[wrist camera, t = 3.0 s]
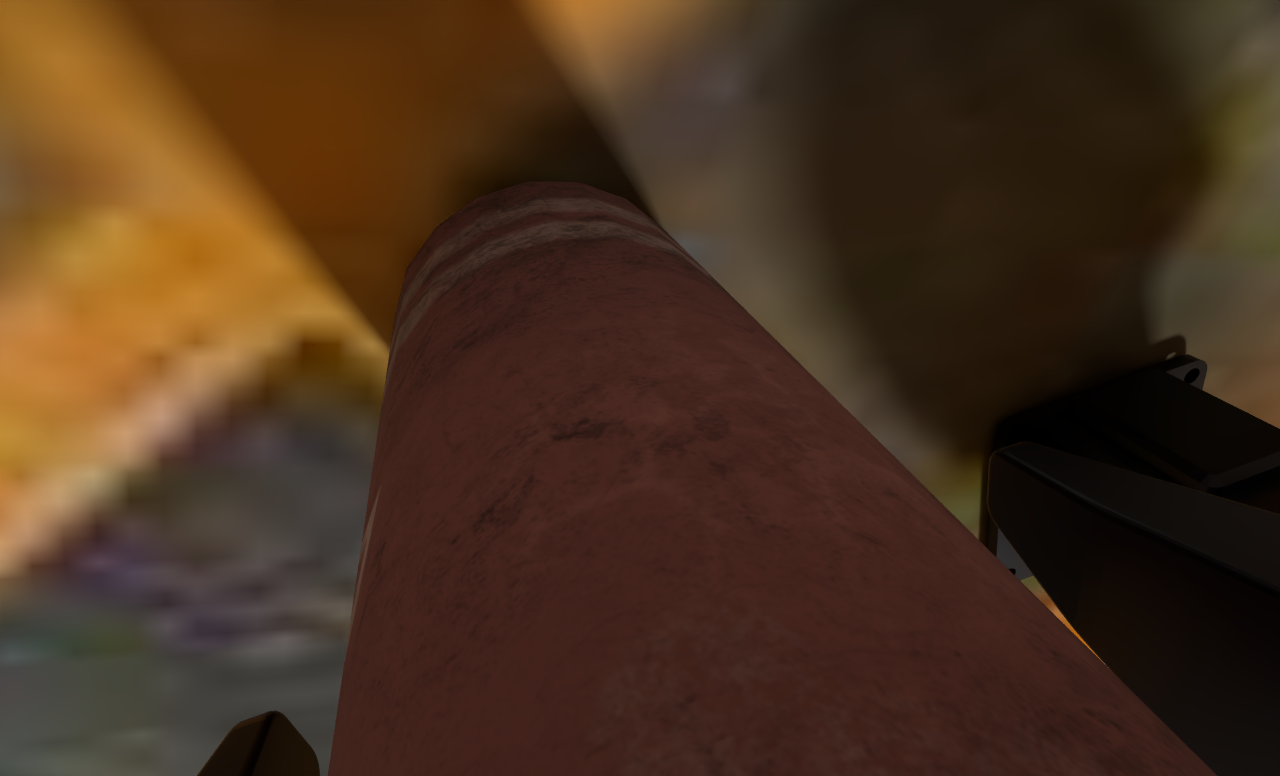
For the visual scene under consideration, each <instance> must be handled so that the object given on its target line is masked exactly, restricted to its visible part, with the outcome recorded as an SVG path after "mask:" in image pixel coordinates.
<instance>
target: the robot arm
mask: <svg viewBox="0 0 1280 776" xmlns="http://www.w3.org/2000/svg"><path fill="white" fill-rule="evenodd" d="M1206 372H1207V364H1206V363H1205V362H1204V361H1202V360H1200V359H1198V358H1196V357H1193V356H1191V355H1188V354H1187V355H1182V356H1179V357H1176V358H1173V359H1170V360H1167V361H1165V362H1162V363H1159V364H1156V365H1153V366H1151V367H1148V368H1145V369H1142V370H1139V371H1137V372H1134V373H1131V374H1128V375H1125V376H1123V377H1120V378H1117V379H1114V380H1111V381H1108V382H1106V383H1103V384H1100V385H1097V386H1094V387H1092V388H1089V389H1086V390H1083V391H1080V392H1078V393H1075V394H1072V395H1069V396H1066V397H1063V398H1061V399H1058V400H1055V401H1052V402H1049V403H1047V404H1044V405H1041V406H1038V407H1035V408H1033V409H1030V410H1027V411H1024V412H1021V413H1019V414H1016V415H1013V416H1011V417H1009V418H1007V419H1005V420H1004V421H1003V422H1002V423H1001V424H1000V425H999V426H998V428H997V429H996V432H995V436H994V452H993V453H992V455H991V457H990V458H989V468H988V487H987V506H988V510H989V513H990V519H989V536H988V550H989V551H990V552H991V553H992V554H993V555H994V556H995V557H996V558H997V559H998V560H999V561H1000V562H1001V563H1002V564H1003V565H1004V566H1005V567H1007V568H1008V569H1009V570H1010V571H1011V572H1012V573H1013V574H1014V575H1015V576H1016V577H1017V578H1018V579H1019V580H1022V579H1025V578H1028V577H1030V576H1034V577H1035V578H1036V580H1037V581H1038V582H1039V584H1040V585H1041V586H1042V588H1043V589H1044V590H1045V592H1046V593H1047V594H1048V596H1049V597H1050V598H1051V600H1052V601H1053V603H1054V604H1055V605H1056V607H1057V608H1058V609H1059V611H1060V612H1061V613H1062V614H1063V616H1064V617H1065V618H1066V620H1067V621H1068V622H1069V623H1070V625H1071V626H1072V627H1073V628H1074V630H1075V631H1076V632H1077V633H1078V634H1079V635H1080V637H1081V638H1082V639H1083V640H1084V641H1085V642H1086V643H1087V645H1088V646H1089V647H1090V648H1091V649H1092V650H1093V651H1094V652H1095V654H1096V655H1097V656H1098V657H1099V658H1100V659H1101V660H1102V661H1103V662H1104V663H1105V665H1106V666H1107V667H1108V668H1109V669H1110V670H1111V671H1112V672H1113V673H1114V674H1115V675H1116V676H1117V677H1118V678H1119V679H1120V680H1121V681H1122V682H1123V683H1124V684H1125V685H1126V686H1127V687H1128V688H1129V689H1130V690H1131V691H1132V692H1133V693H1134V694H1135V695H1136V696H1137V697H1138V698H1139V699H1140V700H1141V701H1142V702H1143V703H1144V704H1145V705H1146V706H1147V707H1148V708H1149V709H1150V710H1151V711H1152V712H1153V713H1154V714H1155V715H1156V716H1157V717H1158V718H1159V719H1160V720H1162V721H1163V722H1164V723H1165V724H1166V725H1167V726H1168V727H1169V728H1170V729H1171V730H1172V731H1173V732H1174V733H1175V734H1176V735H1177V736H1178V737H1179V738H1180V739H1181V740H1182V741H1183V742H1184V743H1185V744H1186V745H1187V746H1188V747H1189V748H1190V749H1191V750H1192V751H1193V752H1194V753H1195V754H1196V755H1197V756H1198V757H1199V758H1200V759H1201V760H1202V761H1203V762H1204V763H1205V764H1206V765H1207V766H1208V767H1209V768H1210V769H1211V770H1212V771H1213V772H1214V773H1215V774H1216V775H1217V776H1280V429H1279V428H1277V427H1275V426H1273V425H1271V424H1269V423H1267V422H1265V421H1263V420H1261V419H1259V418H1257V417H1255V416H1253V415H1251V414H1249V413H1247V412H1245V411H1243V410H1241V409H1239V408H1237V407H1235V406H1233V405H1231V404H1229V403H1227V402H1225V401H1223V400H1221V399H1219V398H1217V397H1215V396H1213V395H1211V394H1209V393H1207V392H1205V391H1203V390H1202V389H1203V384H1204V380H1205V376H1206ZM197 776H320V770H319V763H318V760H317V757H316V754H315V752H314V751H313V749H312V748H311V746H310V745H309V744H308V743H307V742H306V740H305V739H304V738H303V737H302V736H301V734H300V733H299V732H298V731H297V730H296V728H295V727H294V726H293V725H292V724H291V722H290V721H289V720H288V719H287V718H286V716H285V715H284V714H282V713H281V712H278V711H269V712H266V713H264V714H261V715H258V716H255V717H253V718H250V719H247V720H244V721H242V722H240V723H238V724H237V725H235V726H234V727H233V728H232V729H231V731H230V732H229V733H228V734H227V736H226V737H225V738H224V740H223V741H222V742H221V744H220V745H219V746H218V748H217V749H216V751H215V752H214V753H213V755H212V756H211V757H210V759H209V760H208V761H207V763H206V764H205V765H204V767H203V768H202V770H201V771H200V772H199V774H198V775H197Z"/></svg>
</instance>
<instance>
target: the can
mask: <svg viewBox="0 0 1280 776" xmlns="http://www.w3.org/2000/svg"><path fill="white" fill-rule="evenodd" d="M328 776H1217V775H1216V774H1215V773H1214V772H1213V771H1212V770H1211V769H1210V768H1209V767H1208V766H1207V765H1206V764H1205V763H1204V762H1203V761H1202V760H1201V759H1200V758H1199V757H1198V756H1197V755H1196V754H1195V753H1194V752H1193V751H1192V750H1191V749H1190V748H1189V747H1188V746H1187V745H1186V744H1185V743H1184V742H1183V741H1182V740H1181V739H1180V738H1179V737H1178V736H1177V735H1176V734H1175V733H1174V732H1173V731H1172V730H1171V729H1170V728H1169V727H1168V726H1167V725H1166V724H1165V723H1164V722H1163V721H1162V720H1160V719H1159V718H1158V717H1157V716H1156V715H1155V714H1154V713H1153V712H1152V711H1151V710H1150V709H1149V708H1148V707H1147V706H1146V705H1145V704H1144V703H1143V702H1142V701H1141V700H1140V699H1139V698H1138V697H1137V696H1136V695H1135V694H1134V693H1133V692H1132V691H1131V690H1130V689H1129V688H1128V687H1127V686H1126V685H1125V684H1124V683H1123V682H1122V681H1121V680H1120V679H1119V678H1118V677H1117V676H1116V675H1115V674H1114V673H1113V672H1112V671H1111V670H1110V669H1109V668H1108V667H1107V666H1106V665H1105V664H1104V663H1103V662H1102V661H1101V660H1100V659H1099V658H1098V657H1097V656H1096V655H1095V654H1094V653H1093V652H1092V651H1091V650H1090V649H1089V648H1088V647H1087V646H1086V645H1085V644H1083V643H1082V642H1081V641H1080V640H1079V639H1078V638H1077V637H1076V636H1075V635H1074V634H1073V633H1072V632H1071V631H1070V630H1069V629H1068V628H1067V627H1066V626H1065V625H1064V624H1063V623H1062V622H1061V621H1060V620H1059V619H1058V618H1057V617H1056V616H1055V615H1054V614H1053V613H1052V612H1051V611H1050V610H1049V609H1048V608H1047V607H1046V606H1045V605H1044V604H1043V603H1042V602H1041V601H1040V600H1039V599H1038V598H1037V597H1036V596H1035V595H1034V594H1033V593H1032V592H1031V591H1030V590H1029V589H1028V588H1027V587H1026V586H1025V585H1024V584H1023V583H1022V582H1021V581H1020V580H1019V579H1018V578H1017V577H1016V576H1015V575H1014V574H1013V573H1012V572H1011V571H1010V570H1009V569H1008V568H1007V567H1005V566H1004V565H1003V564H1002V563H1001V562H1000V561H999V560H998V559H997V558H996V557H995V556H994V555H993V554H992V553H991V552H990V551H989V550H988V549H987V548H986V547H985V546H984V545H983V544H982V543H981V542H980V541H979V540H978V539H977V538H976V537H975V536H974V535H973V534H972V533H971V532H970V531H969V530H968V529H967V528H966V527H965V526H964V525H963V524H962V523H961V522H960V521H959V520H958V519H957V518H956V517H955V516H954V515H953V514H952V513H951V512H950V511H949V510H948V509H947V508H946V507H945V506H944V505H943V504H942V503H941V502H940V501H939V500H938V499H937V498H936V497H935V496H934V495H933V494H932V493H931V492H930V491H928V490H927V489H926V488H925V487H924V486H923V485H922V484H921V483H920V482H919V481H918V480H917V479H916V478H915V477H914V476H913V475H912V474H911V473H910V472H909V471H908V470H907V469H906V468H905V467H904V466H903V465H902V464H901V463H900V462H899V461H898V460H897V459H896V458H895V457H894V456H893V455H892V454H891V453H890V452H889V451H888V450H887V449H886V448H885V447H884V446H883V445H882V444H881V443H880V442H879V441H878V440H877V439H876V438H875V437H874V436H873V435H872V434H871V433H870V432H869V431H868V430H867V429H866V428H865V427H864V426H863V425H862V424H861V423H860V422H859V421H858V420H857V419H856V418H855V417H854V416H853V415H851V414H850V413H849V412H848V411H847V410H846V409H845V408H844V407H843V406H842V405H841V404H840V403H839V402H838V401H837V400H836V399H835V398H834V397H833V396H832V395H831V394H830V393H829V392H828V391H827V390H826V389H825V388H824V387H823V386H822V385H821V384H820V383H819V382H818V381H817V380H816V379H815V378H814V377H813V376H812V375H811V374H810V373H809V372H808V371H807V370H806V369H805V368H804V367H803V366H802V365H801V364H800V363H799V362H798V361H797V360H796V359H795V358H794V357H793V356H792V355H791V354H790V353H789V352H788V351H787V350H786V349H785V348H784V347H783V346H782V345H781V344H780V343H779V342H778V341H777V340H776V339H775V338H773V337H772V336H771V335H770V334H769V333H768V332H767V331H766V330H765V329H764V328H763V327H762V326H761V325H760V324H759V323H758V322H757V321H756V320H755V319H754V318H753V317H752V316H751V315H750V314H749V313H748V312H747V311H746V310H745V309H744V308H743V307H742V306H741V305H740V304H739V303H738V302H737V301H736V300H735V299H734V298H733V297H732V296H731V295H730V294H729V293H728V292H727V291H726V290H725V289H724V288H723V287H722V286H721V285H720V284H719V283H718V282H717V281H716V280H715V279H714V278H713V277H712V276H711V275H710V274H709V273H708V272H707V271H706V270H705V269H704V268H703V267H702V266H701V265H700V264H699V263H698V262H696V261H695V260H694V259H693V258H692V257H691V256H690V255H689V254H688V253H687V252H686V251H685V250H684V249H683V248H682V247H681V246H680V245H679V244H678V243H677V242H676V241H675V240H674V239H673V238H672V237H671V236H670V235H669V234H668V233H667V232H666V231H665V230H664V229H663V228H662V227H661V226H659V225H658V224H657V223H656V222H654V221H653V220H652V219H651V218H650V217H648V216H647V215H646V214H645V213H643V212H642V211H641V210H640V209H638V208H637V207H636V206H635V205H633V204H632V203H631V202H630V201H628V200H627V199H625V198H623V197H620V196H617V195H614V194H611V193H609V192H606V191H603V190H600V189H597V188H595V187H592V186H589V185H586V184H583V183H581V182H540V181H528V182H524V183H521V184H518V185H515V186H512V187H508V188H505V189H502V190H499V191H495V192H492V193H489V194H486V195H483V196H479V197H477V198H476V199H474V200H473V201H472V202H470V203H469V204H468V205H466V206H465V207H463V208H462V209H461V210H459V211H458V212H457V213H455V214H454V215H452V216H451V217H450V218H448V219H447V220H445V221H444V222H443V223H441V224H440V225H439V226H437V227H436V228H435V229H434V231H433V232H432V234H431V235H430V237H429V238H428V240H427V241H426V242H425V244H424V245H423V247H422V248H421V250H420V251H419V252H418V254H417V255H416V257H415V258H414V260H413V261H412V263H411V264H410V265H409V267H408V268H407V272H406V275H405V279H404V283H403V287H402V291H401V294H400V298H399V302H398V306H397V310H396V313H395V319H394V326H393V333H392V340H391V347H390V354H389V361H388V367H387V374H386V381H385V388H384V395H383V402H382V409H381V415H380V422H379V429H378V436H377V443H376V450H375V457H374V463H373V470H372V477H371V484H370V491H369V498H368V505H367V511H366V518H365V525H364V532H363V539H362V546H361V553H360V559H359V566H358V573H357V580H356V587H355V594H354V601H353V607H352V614H351V621H350V628H349V635H348V642H347V649H346V655H345V662H344V669H343V676H342V683H341V690H340V697H339V704H338V710H337V717H336V724H335V731H334V738H333V745H332V752H331V758H330V765H329V772H328Z"/></svg>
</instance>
